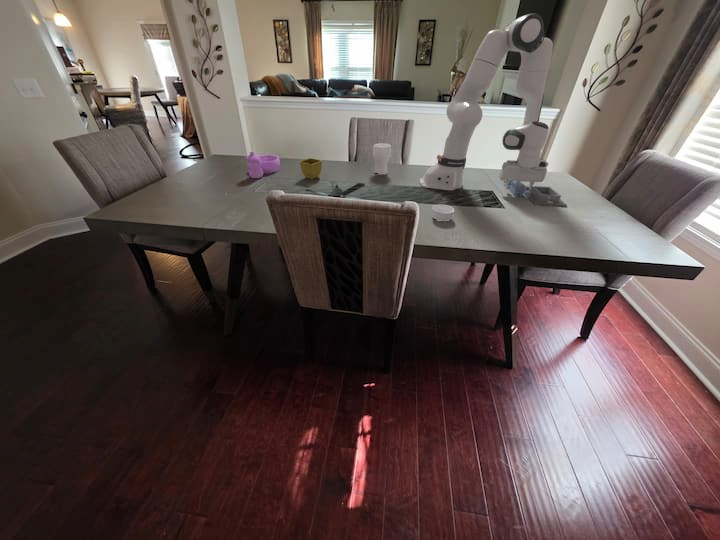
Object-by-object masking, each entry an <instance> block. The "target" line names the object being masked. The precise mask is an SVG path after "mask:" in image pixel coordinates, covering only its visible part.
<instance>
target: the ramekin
mask: <svg viewBox="0 0 720 540" xmlns="http://www.w3.org/2000/svg"><path fill="white" fill-rule="evenodd" d="M454 212H455V208H454V207H452V206H450V205H448V204H435V205H433V206H432V214H431V217H432V216H433V217H434V218H436V219H438V220H443V221H445V220H450V219H451V218H453V215H454ZM451 220H452V219H451ZM451 220H450V221H451Z"/></svg>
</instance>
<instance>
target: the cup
mask: <svg viewBox="0 0 720 540" xmlns="http://www.w3.org/2000/svg"><path fill="white" fill-rule="evenodd" d="M392 151H393V150H392V146H391V144H389V143H382V142H381V143H374V144H373V147H372V158H373V161H374V162H375V163H374V164H375V166H374V172H375V173H378V174H377V175H379V174H384V175H387V174H388V163H389V160H390V159H391V156H392ZM374 172H373V173H374ZM375 173H374V174H375Z"/></svg>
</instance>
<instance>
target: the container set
mask: <svg viewBox="0 0 720 540" xmlns="http://www.w3.org/2000/svg"><path fill="white" fill-rule="evenodd" d="M245 160H247V161H246V165H247V166H248V167H249V169H248V174H249V176H250V177H251V178H252V179H254V178H258V179H261V178H262V177H263V176H264V174H263V173H269V174H273V173H272V172H275V173H277V172H276V171H278V172H280V171H281V170H280V169H281V163H280V162H281V161H280V157H279V156H277V155H274V154H262V155H258V154H255V151H250V152H249V154H248V155H247V156H246V159H245ZM279 170H280V171H279ZM260 177H261V178H260Z"/></svg>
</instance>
